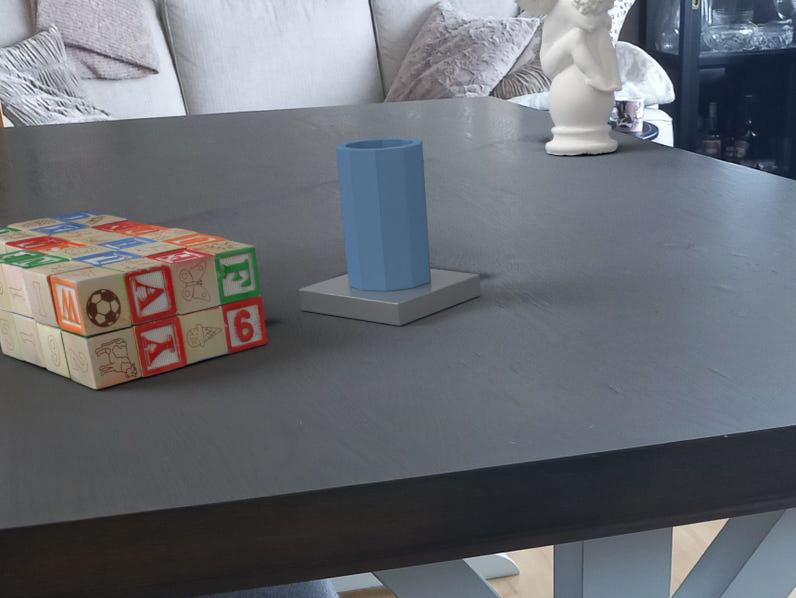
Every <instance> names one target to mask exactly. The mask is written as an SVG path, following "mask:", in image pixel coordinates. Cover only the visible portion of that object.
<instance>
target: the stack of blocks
mask: <svg viewBox="0 0 796 598" xmlns="http://www.w3.org/2000/svg"><path fill="white" fill-rule="evenodd" d="M257 261H258V260H257V254H256V247H255V246H254V245H253V244H247V243H243V242H239V241H234V240H229V239H227V238H225V237H221V236H216V235H212V234H207V233H201V232H197V231H194V230H189V229H183V228H178V227H173V228H171V227H164V226H160V225H155V224H146V223H144V222H143V223H142V222H136V221H132V220H129V219H127V218H125V217H120V216H116V215H112V214H111V215H110V214H105V213H100V212H94V211H90V210H85V211H79V212H73V213H67V214H62V215H55V216H50V217H43V218H42V217H41V218H38V219H32V220H27V221H21V222H15V223H11V224H8V225H7V226H4V227H0V347H1V351H2V354H4V355H6V356H9V357H12V358H15V359H17V360H20V361H24V362H27V363H30V364H33V365H35V366H38V367H41V368H46V370H47V371H49V372H52V373H55V374H57V375H60V376H63V377H65V378H67V379H71V380H72V381H73V382H75V383H78V384H81V385H83V386H86V387H87V388H91V389H93V390H101V389H105V388H109V387H111V386H115V385H118V384H122V383H126V382H129V381H133V380H136V379H138V378H145V377H150V376H154V375H158V374H162V373H165V372H169V371H173V370H176V369H179V368H183V367H186V366H188V365H191V364H195V363H199V362H201V361H204V360H209V359H212V358H216V357H220V356H223V355H230V354H234V353H238V352H241V351H245V350H247V349H251V348H256V347H259V346H263V345H266V344H267V343H268V337H267V330H266V329H267V327H266V320H265V313H264V306H263V305H264V304H263V298H262V296H261V285H260V275H259V270H258V262H257Z"/></svg>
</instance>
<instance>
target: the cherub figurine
mask: <svg viewBox="0 0 796 598" xmlns="http://www.w3.org/2000/svg"><path fill="white" fill-rule="evenodd" d="M615 2H616V0H513V3H514V4H516V6H517V7H518V8H520V10H523V11H524V12H526V14H527V15H528V17H529V16H530V17H531V16H532V17H533V18H537V17H541V16H542V17H543V16H544V17H545V18H544V21H543V26H542V33H541V45H540V50H539V62H540V66H541V70H542V73H543V74H544V76H545V77H546V78H548V79H549V80H552V81H551V84H550V87H549V91H548V94H547V95H548V96H547V107H548V112H549V114H550V118H551V120H552V122H553V124H554V125H555V126H553V127H551V129H550V132H551V134H552V135H553V139H552V140H550V141H548V142H546V143H545V151H546V154H550V155H554V156H555V155H556V156H563V155H567V156H574V155H582V154H584V155H585V154H587V155H590V154H591V155H597V154H602V153H605V154H606V153H612V152H614V151H617V148H618V146H619V143H618V141H617V140H616V139H613V138H611V136H610V132H611V131H612V129H613V128H612V126H611V124H608V123H609V122H610V119H611V117H612V115H613V111H614V108H615V103H616V101H615V100H616V99H615V98H616V97H615V92H621V91H623V84H622V81H621V75H620V72H619V70H620V68H619V62H618V56H617V53H616V49H615V47H614V44H613V40H612V36H611V33H610V31H611V30H612V29H613V18H612V16H611V15H610V13H609V11H610V10H613V9H614V6H615Z"/></svg>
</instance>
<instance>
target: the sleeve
mask: <svg viewBox="0 0 796 598" xmlns="http://www.w3.org/2000/svg"><path fill="white" fill-rule="evenodd" d="M335 154H336V155H335V156H336V166H337V174H338V176H337V177H338V186H339V198H340V207H341V217H342V229H343V237H344V247H345V248H344V249H345V258H346V268H347V269H346V270H347V274H348V281H349V286H351V287H354V288H357V289H360V290H365V291H393V290H402V289H410V288H414V287H417V286H420V285H423V284H426V283H429V282H430V277H431V272H430V269H431V258H430V244H429V226H428V214H427V213H428V212H427V211H428V210H427V195H426V179H425V163H424V148H423V140H422V139H419V138H412V137H378V138H366V139H364V138H363V139H357V140H356V139H355V140H351V141H346V142H341V143H338V145H337V146H336V147H335Z"/></svg>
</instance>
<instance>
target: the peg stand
mask: <svg viewBox="0 0 796 598" xmlns="http://www.w3.org/2000/svg"><path fill="white" fill-rule="evenodd" d="M430 272H431V277H430V282H429V283H426V284H423V285H420V286H417V287H414V288H410V289H402V290H393V291H365V290H360V289H357V288H354V287H351V286H349V281H348V273H345V274H342V275H340V276H336V277H332V278H330V279H326V280H323V281H320V282H317V283H314V284H310V285H307V286H305V287H301V288H298V297H299V305H300V310H301V311H303V312H309V313H315V314H321V315H327V316H334V317H341V318H347V319H353V320H360V321H366V322H372V323H378V324H385V325H392V326H397V327H401V326H404V325H407V324H409V323H411V322H414V321H417V320H419V319H422V318H425V317H427V316H430V315H433V314H435V313H438V312H440V311H443V310H446V309H448V308H451V307H454V306H457V305H459V304H461V303H464V302H467V301H469V300H472V299H475V298H478V297H480V296H481V278H480V274H478V273H470V272H462V271H461V272H460V271H454V270H445V269H437V268H430Z"/></svg>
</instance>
